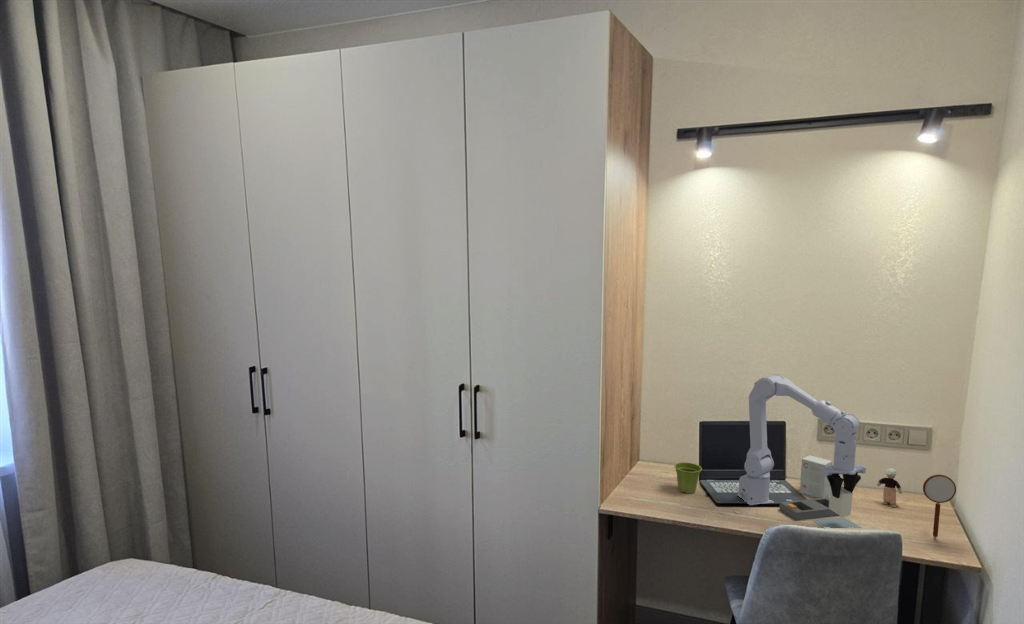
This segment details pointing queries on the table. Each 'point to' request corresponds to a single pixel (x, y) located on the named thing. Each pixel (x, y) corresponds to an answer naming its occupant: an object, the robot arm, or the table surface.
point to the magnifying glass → (939, 494)
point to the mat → (836, 523)
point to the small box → (814, 477)
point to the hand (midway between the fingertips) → (841, 496)
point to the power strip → (807, 508)
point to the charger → (841, 502)
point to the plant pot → (687, 476)
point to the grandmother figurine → (890, 487)
